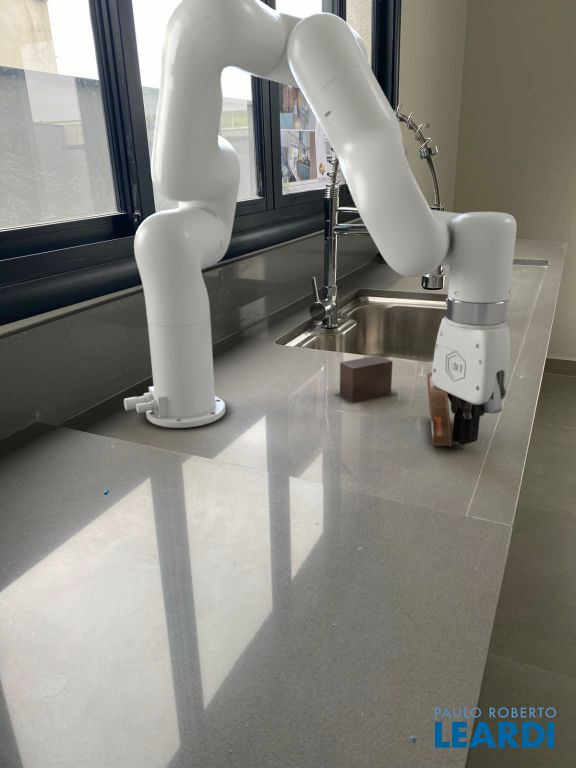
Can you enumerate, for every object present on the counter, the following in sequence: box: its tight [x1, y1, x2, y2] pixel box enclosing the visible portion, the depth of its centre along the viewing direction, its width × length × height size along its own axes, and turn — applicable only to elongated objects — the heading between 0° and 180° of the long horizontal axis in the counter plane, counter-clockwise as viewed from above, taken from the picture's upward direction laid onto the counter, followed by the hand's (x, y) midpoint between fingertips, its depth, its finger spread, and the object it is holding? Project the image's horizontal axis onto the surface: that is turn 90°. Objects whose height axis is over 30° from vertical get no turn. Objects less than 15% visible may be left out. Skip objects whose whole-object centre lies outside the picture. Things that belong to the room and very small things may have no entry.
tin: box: [426, 372, 453, 447], centre depth 87 cm, size 15×3×8 cm, turn 168°
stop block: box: [339, 354, 393, 403], centre depth 104 cm, size 8×4×6 cm, turn 118°
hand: (464, 440), depth 84 cm, fingers closed
